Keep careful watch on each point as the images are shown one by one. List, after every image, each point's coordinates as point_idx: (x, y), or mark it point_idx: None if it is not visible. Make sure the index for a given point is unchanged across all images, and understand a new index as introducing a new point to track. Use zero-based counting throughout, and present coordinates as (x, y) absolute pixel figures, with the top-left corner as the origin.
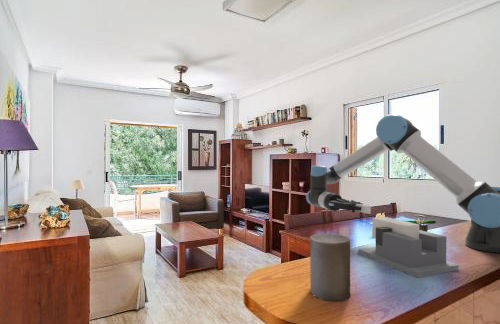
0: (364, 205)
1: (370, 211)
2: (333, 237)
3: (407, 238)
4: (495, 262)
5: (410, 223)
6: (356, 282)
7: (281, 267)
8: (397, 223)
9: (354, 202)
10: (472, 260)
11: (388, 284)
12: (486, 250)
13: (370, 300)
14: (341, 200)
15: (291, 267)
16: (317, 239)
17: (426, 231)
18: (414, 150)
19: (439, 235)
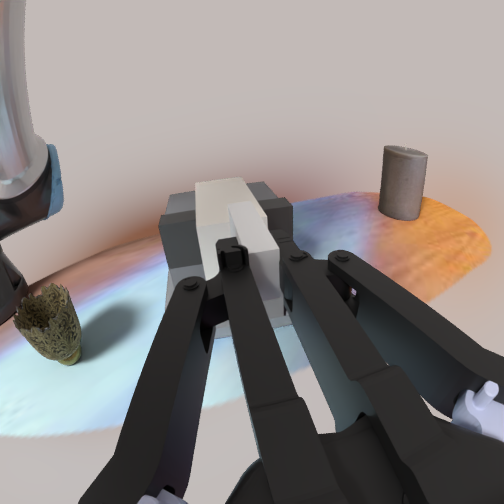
0: (245, 217)
1: (231, 231)
2: (402, 149)
3: (260, 186)
4: (83, 259)
5: (204, 186)
6: (366, 222)
7: (472, 255)
8: (240, 184)
9: (180, 387)
10: (99, 266)
11: (325, 218)
12: (27, 289)
13: (359, 203)
14: (398, 390)
15: (460, 255)
16: (417, 150)
17: (51, 299)
18: (24, 7)
19: (174, 197)
